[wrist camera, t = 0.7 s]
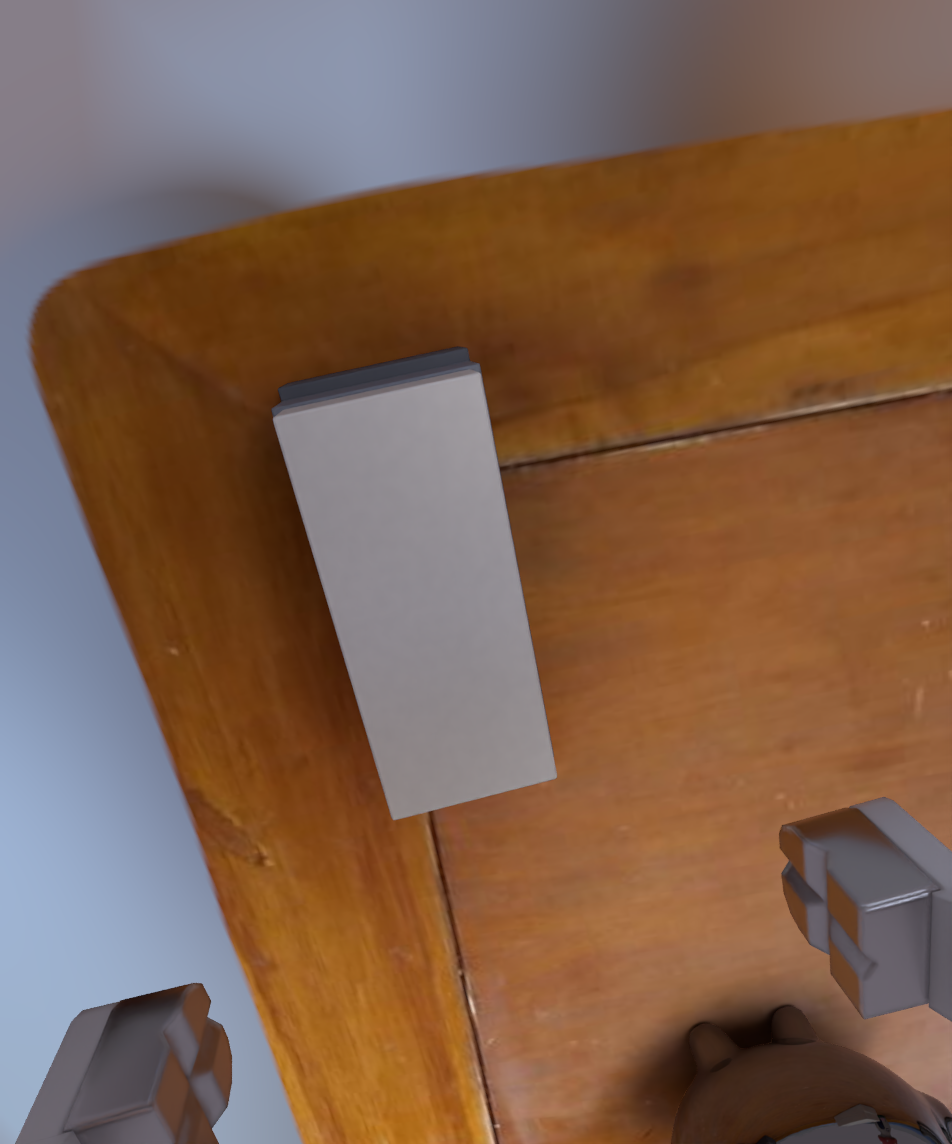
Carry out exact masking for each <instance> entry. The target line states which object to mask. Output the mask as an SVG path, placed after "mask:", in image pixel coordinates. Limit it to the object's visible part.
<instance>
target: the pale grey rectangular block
mask: <svg viewBox="0 0 952 1144" xmlns="http://www.w3.org/2000/svg"><path fill="white" fill-rule="evenodd" d="M273 423H274V426H275V429H276V433H277V436H278V439H279V443H280V446H281V450H282V453H283V456H284V460H285V463H286V466H287V470H288V473H289V476H290V480H291V483H292V486H293V490H294V493H295V496H296V500H297V503H298V506H299V510H300V513H301V516H302V520H303V523H304V526H305V530H306V533H307V536H308V540H309V543H310V546H311V550H312V553H313V556H314V560H315V563H316V567H317V570H318V573H319V577H320V580H321V583H322V587H323V590H324V593H325V597H326V600H327V603H328V607H329V610H330V613H331V617H332V620H333V623H334V627H335V630H336V633H337V637H338V640H339V643H340V647H341V650H342V653H343V657H344V660H345V663H346V667H347V670H348V673H349V677H350V680H351V683H352V687H353V690H354V694H355V697H356V700H357V704H358V707H359V710H360V714H361V717H362V720H363V724H364V727H365V730H366V734H367V737H368V740H369V744H370V747H371V750H372V754H373V757H374V760H375V764H376V767H377V770H378V774H379V777H380V780H381V784H382V787H383V790H384V794H385V797H386V800H387V804H388V807H389V810H390V814H391V817H392V819H393V820H397V819H401V818H405V817H409V816H413V815H417V814H421V813H425V812H429V811H432V810H436V809H440V808H444V807H448V806H452V805H456V804H460V803H464V802H467V801H471V800H475V799H479V798H483V797H487V796H491V795H495V794H499V793H502V792H506V791H510V790H514V789H518V788H522V787H526V786H530V785H534V784H538V783H541V782H545V781H549V780H553V779H556V778H557V772H556V767H555V762H554V756H553V751H552V746H551V741H550V735H549V730H548V725H547V720H546V714H545V709H544V704H543V698H542V693H541V688H540V683H539V677H538V672H537V667H536V662H535V656H534V651H533V646H532V640H531V635H530V630H529V625H528V619H527V614H526V609H525V604H524V598H523V593H522V588H521V583H520V577H519V572H518V567H517V561H516V556H515V551H514V546H513V540H512V535H511V530H510V525H509V519H508V514H507V509H506V504H505V498H504V493H503V488H502V482H501V477H500V472H499V467H498V461H497V456H496V451H495V446H494V440H493V435H492V430H491V425H490V419H489V414H488V409H487V403H486V398H485V393H484V388H483V382H482V377H481V374H480V373H479V372H476V371H474V370H470V369H468V370H464V371H459V372H454V373H450V374H445V375H441V376H436V377H431V378H427V379H422V380H418V381H413V382H408V383H404V384H399V385H395V386H390V387H386V388H381V389H376V390H372V391H367V392H363V393H358V394H353V395H349V396H344V397H340V398H335V399H330V400H326V401H321V402H317V403H312V404H308V405H303V406H298V407H294V408H289V409H285V410H282V411H281V412H280V413H279V414H277V415H276V416H275V417H274V418H273Z"/></svg>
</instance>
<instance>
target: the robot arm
mask: <svg viewBox="0 0 952 1144" xmlns="http://www.w3.org/2000/svg"><path fill="white" fill-rule="evenodd" d="M779 842H780V849H781V850H782V852H783V853H784V854H785V856H786V857H787V858H788V859H789V862H788V864H787V865H786V867H785V868H784V870H783V872H782V873H781V874H782V883H783V892H784V895H785V898H786V901H787V904H788V907H789V910H790V913H791V915H792V917H793V919H794V921H795V922H796V924H797V926H798V928H799V930H800V931H801V933H802V934H803V935H804V937H805V938H806V940H807V941H808V943H809V944H810V945H811V946H813V947H815V948H817V949H819V950H821V951H823V952H825V953H827V954H829V955H830V972H831V975H832V976H833V978H834V979H835V980H836V982H837V983H838V985H839V986H840V987H841V989H842V990H843V991H844V993H845V994H846V996H847V997H848V998H849V1000H850V1001H851V1002H852V1004H853V1005H854V1007H855V1008H856V1009H857V1011H858V1012H859V1013H860V1015H861V1016H862V1018H863V1019H868V1018H872V1017H876V1016H880V1015H884V1014H888V1013H892V1012H896V1011H900V1010H904V1009H908V1008H912V1007H916V1006H920V1005H924V1004H928V1003H929V1008H931V1009H933V1010H934V1011H936V1012H937V1013H939V1014H940V1015H942V1016H944V1017H945V1018H947V1019H948V1020H950V1021H952V852H951V851H950V850H949V849H948V848H947V847H946V846H945V845H944V844H942V843H941V842H940V841H939V840H938V839H937V838H936V837H934V836H933V835H932V834H931V833H930V832H929V831H928V830H926V829H925V828H924V827H923V826H922V825H921V824H920V823H918V822H917V821H916V820H915V819H914V818H913V817H912V816H910V815H909V814H908V813H907V812H906V811H905V810H904V809H902V808H901V807H900V806H899V805H898V804H897V803H896V802H894V801H893V800H891V799H888V798H886V797H882V798H878V799H874V800H871V801H867V802H864V803H860V804H856V805H853V806H850V807H849V808H842V809H839V810H835V811H832V812H828V813H824V814H821V815H817V816H814V817H810V818H806V819H803V820H799V821H796V822H792V823H788V824H785V825H782V827H781V830H780V832H779ZM210 1004H211V1000H210V998H209V996H208V994H207V992H206V990H205V988H204V986H203V984H201V983H191V984H188V985H183V986H179V987H175V988H171V989H167V990H162V991H158V992H154V993H150V994H146V995H141V996H137V997H133V998H129V999H125V1000H121V1001H120V1002H116V1003H112V1004H107V1005H104V1006H99V1007H95V1008H90V1009H86V1010H83V1011H81V1013H80V1014H79V1015H78V1016H77V1017H76V1018H75V1019H74V1020H73V1021H72V1022H71V1024H70V1026H69V1028H68V1030H67V1032H66V1035H65V1037H64V1039H63V1041H62V1043H61V1045H60V1048H59V1050H58V1052H57V1054H56V1056H55V1058H54V1061H53V1063H52V1065H51V1067H50V1069H49V1072H48V1074H47V1076H46V1078H45V1080H44V1082H43V1085H42V1087H41V1089H40V1091H39V1093H38V1095H37V1097H36V1100H35V1102H34V1104H33V1106H32V1108H31V1110H30V1113H29V1115H28V1117H27V1119H26V1121H25V1123H24V1126H23V1128H22V1130H21V1133H20V1134H19V1137H18V1139H17V1141H16V1143H15V1144H219V1143H218V1141H217V1139H216V1137H215V1135H214V1133H213V1131H212V1128H213V1126H214V1125H215V1124H216V1122H217V1121H218V1119H219V1118H220V1117H221V1115H222V1114H223V1112H224V1111H225V1109H226V1108H227V1106H228V1101H229V1096H230V1090H231V1084H232V1055H231V1050H230V1046H229V1040H228V1037H227V1035H226V1033H225V1030H224V1028H223V1026H222V1025H221V1024H219V1023H217V1022H216V1021H214V1020H212V1019H210V1018H208V1017H207V1015H208V1012H209V1008H210Z"/></svg>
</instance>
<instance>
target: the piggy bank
mask: <svg viewBox="0 0 952 1144" xmlns="http://www.w3.org/2000/svg"><path fill="white" fill-rule="evenodd" d="M771 1032H772V1041H771V1043H765V1044H760V1045H756V1046H752V1047H748V1048H739V1047H738V1046H737V1045H736V1044H735V1043H734V1042H733V1041H732V1040H731V1039H730V1038H729V1037H728V1036H727V1035H726V1034H725V1033H724V1032H723V1031H722V1030H721V1029H720V1028H719V1027H717V1026H715V1025H713V1024H710V1023H705V1024H702V1025H699V1026H697V1027H696V1028H695V1029H693V1031H692V1032H691V1034H690V1036H689V1046H690V1049H691V1052H692V1055H693V1057H694V1060H695V1063H696V1067H697V1072H696V1076H695V1078H694V1080H693V1082H692V1083H691V1085H690V1086H689V1088H688V1089H687V1091H686V1092H685V1094H684V1096H683V1098H682V1100H681V1102H680V1105H679V1107H678V1110H677V1113H676V1116H675V1120H674V1124H673V1130H672V1137H671V1144H952V1113H951V1112H950V1111H949V1109H948V1108H947V1107H946V1106H945V1105H944V1104H943V1103H941V1102H940V1101H939V1100H937V1099H936V1098H934V1097H932V1096H930V1095H928V1094H925V1093H923V1092H920V1091H918V1090H916V1089H915V1088H913V1087H912V1086H911V1085H909V1084H908V1083H907V1082H906V1081H904V1080H903V1079H902V1078H901V1077H899V1076H898V1075H897V1074H895V1073H894V1072H892V1071H891V1070H890V1069H888V1068H887V1067H885V1066H884V1065H882V1064H880V1063H879V1062H877V1061H875V1060H873V1059H871V1058H869V1057H867V1056H866V1055H864V1054H861V1053H859V1052H856V1051H854V1050H851V1049H849V1048H846V1047H843V1046H839V1045H835V1044H831V1043H827V1042H823V1041H821V1040H820V1039H819V1038H818V1037H817V1035H816V1033H815V1032H814V1030H813V1028H812V1026H811V1025H810V1023H809V1021H808V1019H807V1018H806V1016H805V1015H804V1013H803V1012H802V1011H801V1010H799V1009H798V1008H796V1007H792V1006H787V1007H783V1008H780V1009H779V1010H777V1011H776V1013H775V1014H774V1015H773V1018H772V1021H771Z"/></svg>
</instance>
